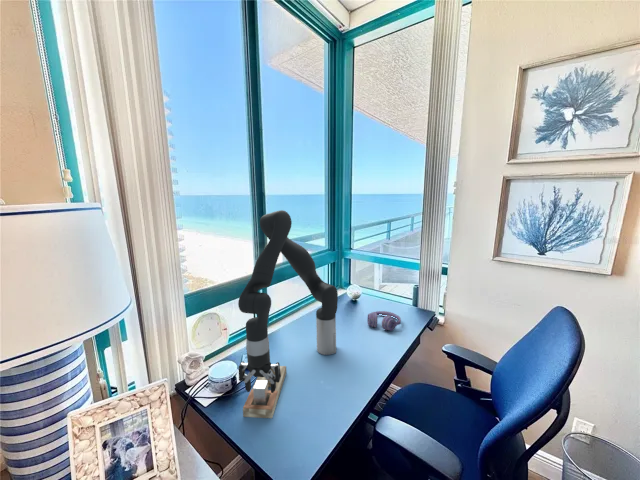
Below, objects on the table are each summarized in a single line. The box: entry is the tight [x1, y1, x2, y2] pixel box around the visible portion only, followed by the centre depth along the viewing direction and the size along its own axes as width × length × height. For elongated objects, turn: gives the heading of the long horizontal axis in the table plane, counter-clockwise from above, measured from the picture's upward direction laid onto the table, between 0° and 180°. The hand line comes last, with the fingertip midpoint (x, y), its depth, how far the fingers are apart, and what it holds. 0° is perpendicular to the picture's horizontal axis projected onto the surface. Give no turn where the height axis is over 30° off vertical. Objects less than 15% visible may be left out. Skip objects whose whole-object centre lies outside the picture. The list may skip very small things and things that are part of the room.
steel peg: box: [252, 380, 269, 406], centre depth 91 cm, size 4×4×9 cm
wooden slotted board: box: [242, 365, 287, 419], centre depth 98 cm, size 10×23×3 cm, turn 175°
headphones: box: [367, 310, 402, 332], centre depth 149 cm, size 18×8×20 cm
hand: (260, 390), depth 91 cm, fingers open, 8 cm apart
